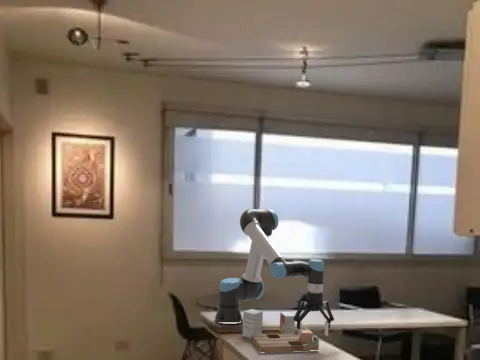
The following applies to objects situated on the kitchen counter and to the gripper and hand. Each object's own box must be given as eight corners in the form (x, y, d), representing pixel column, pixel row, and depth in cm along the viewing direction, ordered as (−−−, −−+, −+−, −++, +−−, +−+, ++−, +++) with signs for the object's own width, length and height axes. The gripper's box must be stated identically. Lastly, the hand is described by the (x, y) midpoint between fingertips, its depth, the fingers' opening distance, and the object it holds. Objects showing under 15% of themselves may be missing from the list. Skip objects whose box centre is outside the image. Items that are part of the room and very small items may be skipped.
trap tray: (251, 340, 242) (252, 328, 242) (305, 339, 248) (306, 327, 248) (260, 353, 225) (261, 339, 225) (318, 351, 230) (319, 338, 231)
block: (299, 338, 240) (299, 329, 240) (308, 337, 241) (309, 329, 241) (302, 341, 235) (302, 333, 235) (312, 341, 236) (312, 332, 236)
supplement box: (250, 333, 255) (251, 308, 255) (262, 336, 250) (263, 311, 250) (241, 336, 249) (242, 311, 249) (253, 339, 244) (254, 313, 244)
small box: (279, 332, 259) (280, 312, 259) (289, 331, 260) (290, 311, 260) (284, 336, 251) (285, 316, 251) (294, 336, 252) (295, 315, 252)
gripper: (293, 293, 233) (291, 338, 233) (342, 293, 239) (340, 337, 238) (288, 289, 241) (286, 333, 240) (335, 290, 246) (334, 332, 246)
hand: (313, 335), depth 239 cm, fingers open, 13 cm apart
